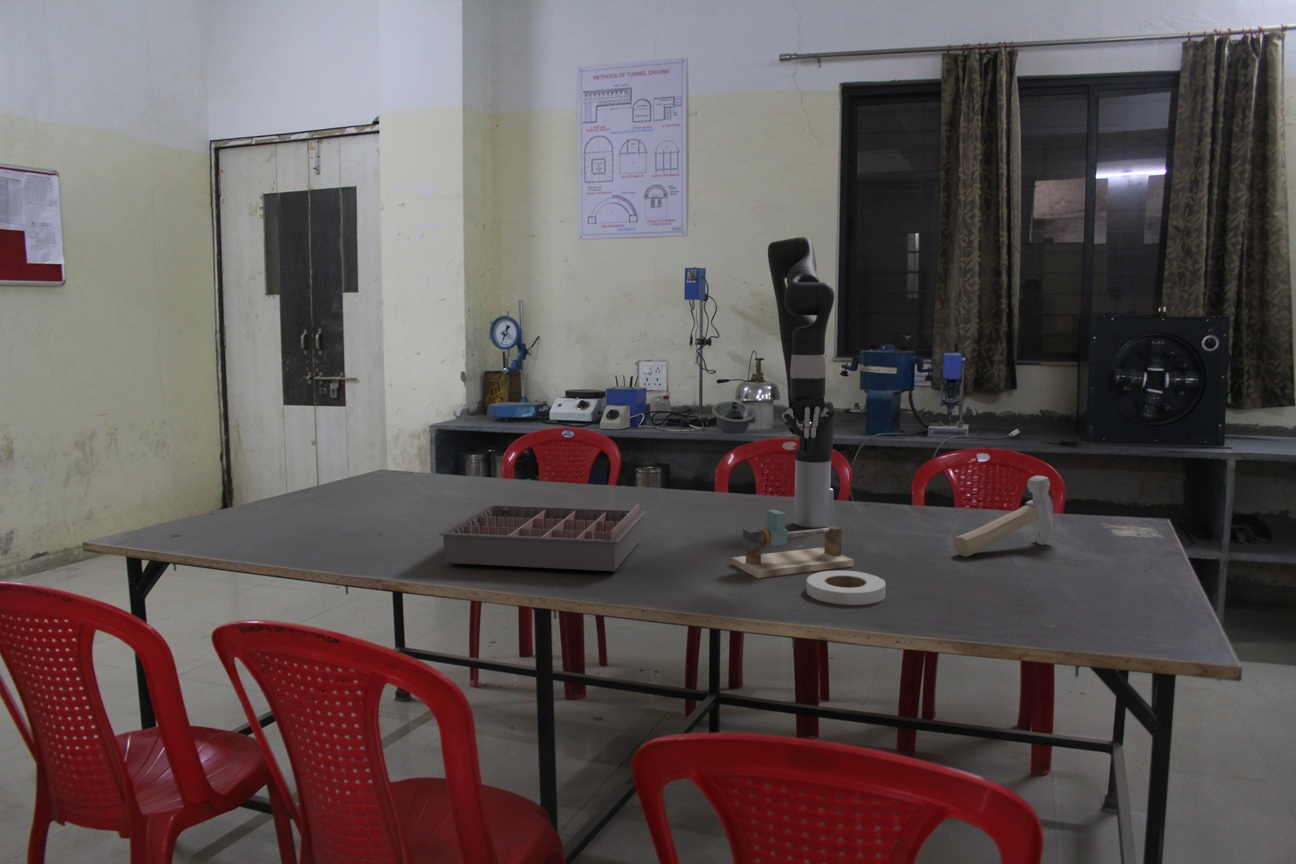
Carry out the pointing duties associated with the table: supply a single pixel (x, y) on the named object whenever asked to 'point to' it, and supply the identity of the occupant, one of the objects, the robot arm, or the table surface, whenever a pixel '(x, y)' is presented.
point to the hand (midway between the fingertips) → (806, 454)
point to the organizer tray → (545, 537)
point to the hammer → (1014, 521)
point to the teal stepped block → (776, 527)
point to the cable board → (791, 554)
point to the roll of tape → (846, 587)
